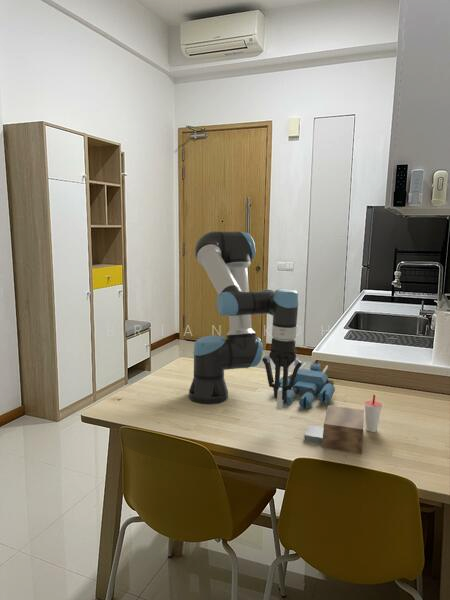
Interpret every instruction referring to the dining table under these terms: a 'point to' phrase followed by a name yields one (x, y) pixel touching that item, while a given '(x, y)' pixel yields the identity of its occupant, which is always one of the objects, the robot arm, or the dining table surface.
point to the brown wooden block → (343, 429)
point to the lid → (314, 434)
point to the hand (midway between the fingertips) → (279, 408)
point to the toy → (309, 386)
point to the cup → (372, 414)
